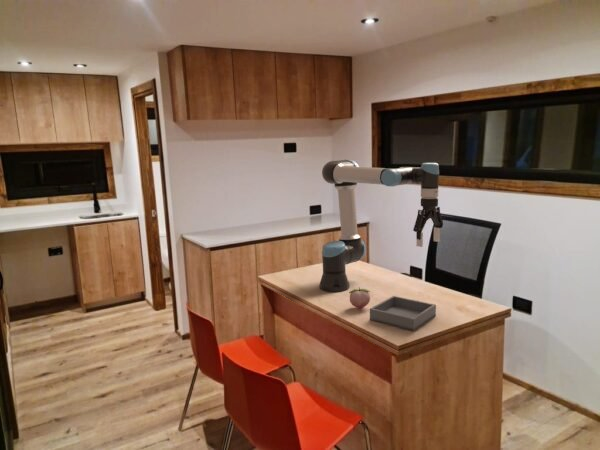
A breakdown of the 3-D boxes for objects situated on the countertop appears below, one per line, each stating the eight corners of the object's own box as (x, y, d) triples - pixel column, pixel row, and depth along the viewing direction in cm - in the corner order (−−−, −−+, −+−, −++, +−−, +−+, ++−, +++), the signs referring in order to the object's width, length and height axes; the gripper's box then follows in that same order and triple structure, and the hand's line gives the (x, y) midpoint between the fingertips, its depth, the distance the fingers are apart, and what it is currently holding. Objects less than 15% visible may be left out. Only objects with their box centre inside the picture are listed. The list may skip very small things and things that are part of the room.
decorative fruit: (367, 304, 208) (367, 283, 206) (372, 310, 200) (372, 289, 198) (347, 306, 207) (346, 285, 205) (351, 312, 199) (351, 290, 197)
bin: (369, 320, 190) (369, 308, 189) (393, 306, 205) (393, 295, 204) (413, 331, 177) (413, 319, 176) (435, 316, 192) (435, 304, 191)
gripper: (420, 201, 193) (419, 249, 196) (451, 195, 209) (450, 240, 212) (405, 199, 198) (404, 247, 202) (437, 194, 214) (436, 238, 218)
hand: (428, 243), depth 207 cm, fingers open, 13 cm apart
